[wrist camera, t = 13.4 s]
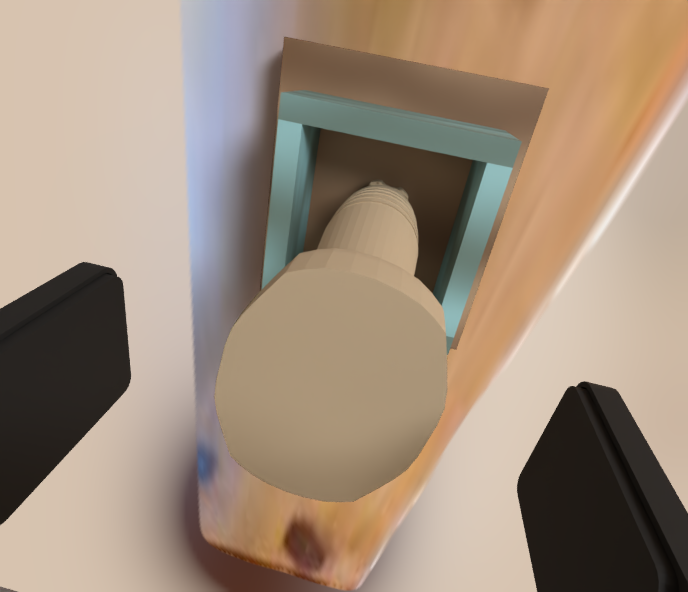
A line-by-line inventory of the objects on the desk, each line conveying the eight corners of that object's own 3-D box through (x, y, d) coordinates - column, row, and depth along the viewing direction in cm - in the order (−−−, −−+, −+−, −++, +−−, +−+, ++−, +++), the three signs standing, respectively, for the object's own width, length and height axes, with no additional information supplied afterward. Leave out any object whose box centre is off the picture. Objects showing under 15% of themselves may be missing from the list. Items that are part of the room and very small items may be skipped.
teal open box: (295, 40, 22) (254, 27, 17) (538, 87, 21) (577, 90, 16) (269, 288, 28) (233, 337, 23) (454, 332, 28) (461, 392, 22)
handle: (319, 247, 24) (196, 459, 11) (357, 130, 21) (252, 233, 8) (401, 278, 24) (375, 524, 11) (451, 166, 21) (497, 325, 8)
